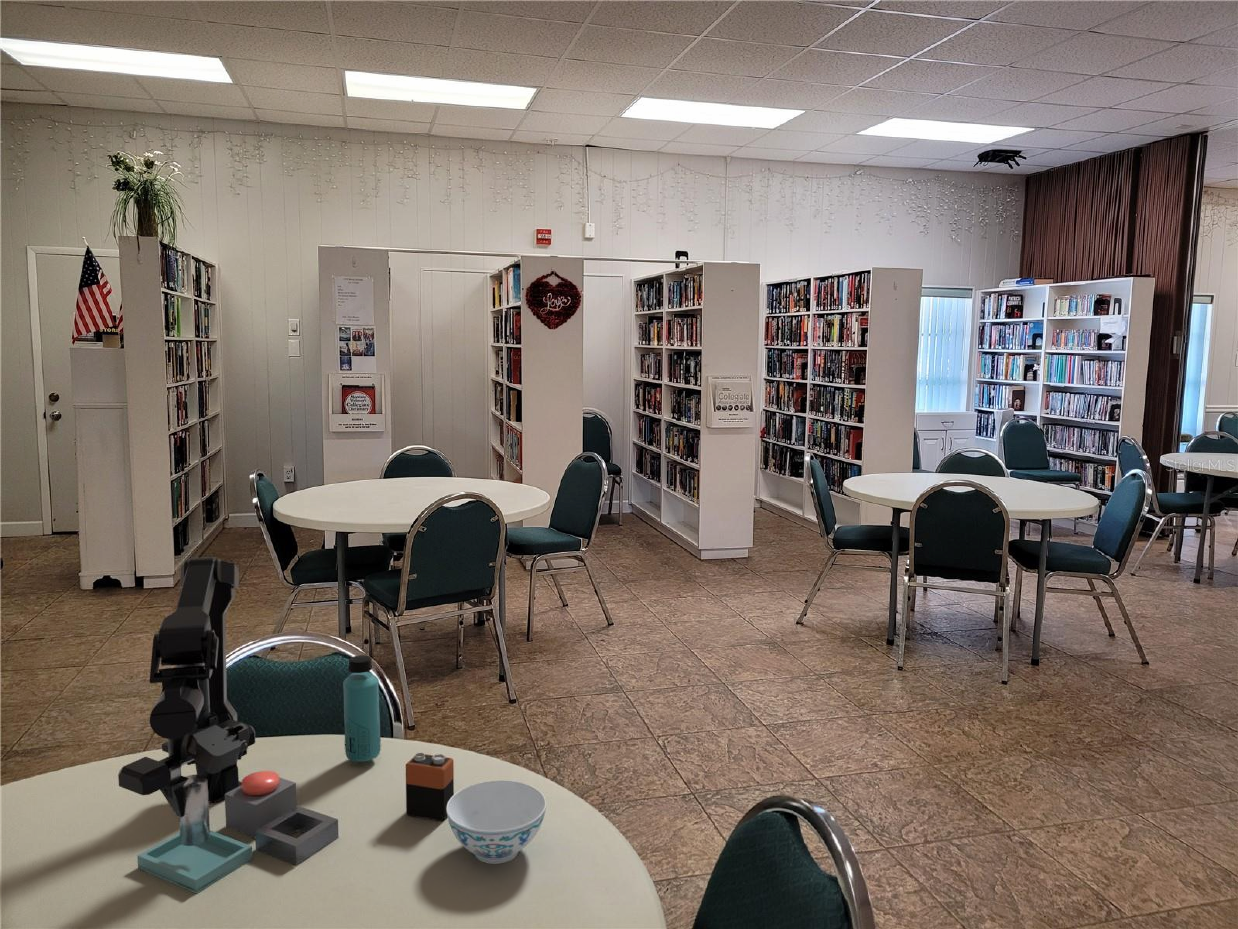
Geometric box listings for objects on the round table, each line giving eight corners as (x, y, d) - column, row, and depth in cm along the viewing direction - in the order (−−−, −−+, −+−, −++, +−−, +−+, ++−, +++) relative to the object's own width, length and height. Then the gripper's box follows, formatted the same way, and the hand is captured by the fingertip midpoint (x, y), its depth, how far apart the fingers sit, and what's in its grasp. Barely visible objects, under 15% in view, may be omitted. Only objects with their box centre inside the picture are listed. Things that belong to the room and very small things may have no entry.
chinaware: (520, 890, 128) (521, 839, 126) (428, 868, 132) (427, 819, 131) (560, 835, 142) (561, 789, 141) (475, 817, 146) (475, 773, 145)
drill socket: (255, 849, 136) (255, 831, 136) (298, 823, 144) (298, 805, 143) (296, 865, 132) (295, 846, 132) (338, 837, 140) (338, 819, 139)
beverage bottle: (388, 757, 167) (386, 653, 164) (367, 773, 160) (365, 666, 158) (358, 751, 169) (356, 649, 166) (336, 766, 163) (333, 661, 160)
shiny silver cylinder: (173, 841, 131) (170, 783, 130) (197, 828, 135) (194, 772, 133) (192, 848, 129) (189, 790, 128) (216, 835, 133) (213, 778, 131)
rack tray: (138, 868, 131) (137, 855, 131) (195, 836, 139) (194, 824, 139) (196, 893, 125) (195, 880, 125) (252, 858, 134) (252, 846, 133)
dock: (226, 826, 142) (224, 794, 142) (266, 803, 149) (265, 772, 149) (257, 838, 139) (255, 805, 138) (297, 814, 146) (296, 782, 145)
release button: (234, 805, 143) (233, 782, 142) (262, 789, 148) (262, 768, 147) (259, 814, 140) (258, 791, 140) (287, 798, 145) (286, 776, 144)
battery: (443, 822, 145) (442, 764, 143) (405, 816, 146) (404, 758, 145) (454, 809, 149) (454, 752, 147) (417, 803, 151) (417, 746, 149)
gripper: (166, 747, 117) (173, 857, 119) (279, 697, 134) (283, 795, 136) (112, 728, 122) (119, 835, 124) (227, 682, 139) (231, 777, 141)
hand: (193, 809), depth 131 cm, fingers closed on shiny silver cylinder, 4 cm apart
